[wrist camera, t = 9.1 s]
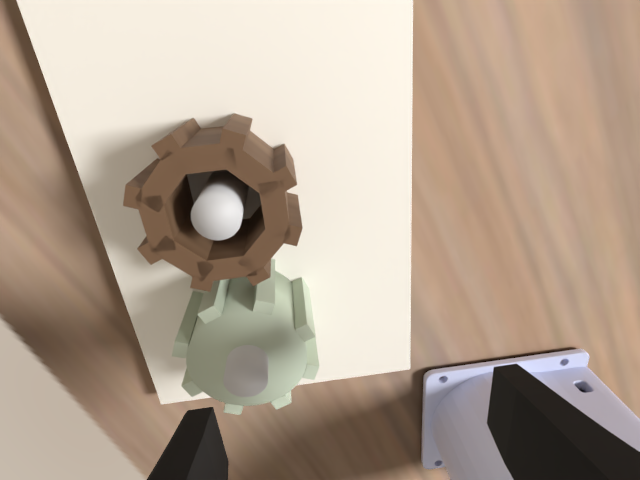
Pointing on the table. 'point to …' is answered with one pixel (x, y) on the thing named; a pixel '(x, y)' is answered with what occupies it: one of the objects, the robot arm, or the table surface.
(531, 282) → the table surface
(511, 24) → the table surface
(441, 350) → the table surface
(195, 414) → the robot arm
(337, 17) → the gear board
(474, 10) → the table surface
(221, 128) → the walnut gear
